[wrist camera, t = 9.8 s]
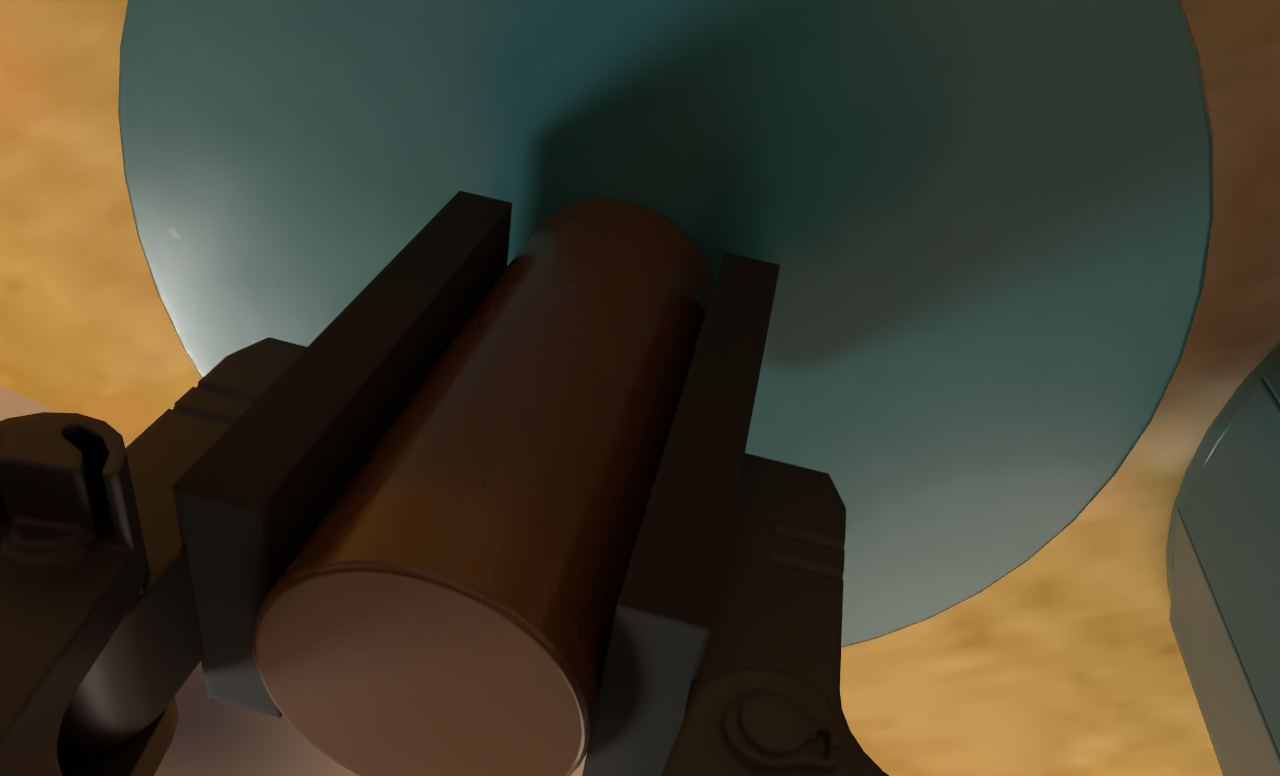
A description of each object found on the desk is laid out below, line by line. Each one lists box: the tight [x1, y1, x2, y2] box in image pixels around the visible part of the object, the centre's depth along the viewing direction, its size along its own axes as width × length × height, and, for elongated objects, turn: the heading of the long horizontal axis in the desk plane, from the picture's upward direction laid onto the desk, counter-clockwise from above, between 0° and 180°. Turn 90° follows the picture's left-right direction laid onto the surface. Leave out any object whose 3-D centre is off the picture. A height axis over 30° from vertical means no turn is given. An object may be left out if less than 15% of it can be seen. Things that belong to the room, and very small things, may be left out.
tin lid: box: [118, 0, 1213, 776], centre depth 12 cm, size 16×16×9 cm
